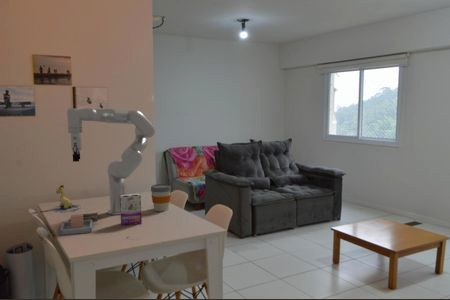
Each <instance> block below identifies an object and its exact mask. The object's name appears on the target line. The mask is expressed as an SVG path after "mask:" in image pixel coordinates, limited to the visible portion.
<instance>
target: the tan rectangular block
mask: <svg viewBox="0 0 450 300" xmlns="http://www.w3.org/2000/svg"><path fill="white" fill-rule="evenodd" d="M83 214H84V213H80V215H78V214H70V218H69V219H70V222H71V229H76V228H84V224H83Z"/></svg>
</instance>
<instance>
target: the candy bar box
mask: <svg viewBox="0 0 450 300" xmlns="http://www.w3.org/2000/svg"><path fill="white" fill-rule="evenodd" d="M141 196H142V195H141V193H139V192H138V193H126V194H122V195H120V211H121V214H120V225H121V226H128V225H140V224H142V223H143V222H142V221H143V220H142V201H141V198H142V197H141Z"/></svg>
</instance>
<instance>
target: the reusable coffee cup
mask: <svg viewBox="0 0 450 300" xmlns="http://www.w3.org/2000/svg"><path fill="white" fill-rule="evenodd" d="M150 191H151V201H152V203H153V210H154V211H156V212H165V211H168V210H169V208H170V202H171V192H172V187H171V184H166V183H159V184H153V185H150Z"/></svg>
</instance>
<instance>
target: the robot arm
mask: <svg viewBox="0 0 450 300" xmlns="http://www.w3.org/2000/svg"><path fill="white" fill-rule="evenodd" d="M66 113H67V118H66V119H67V133H68V134H70V146H71V151H72V162H75V163H76V162H80V160H81V152H80V151H81V150H82V146H83V145H82V135H81V134H82V133H83V122H101V123H107V124H121V125H134V126H135V128H134V134H135V137H134V141H133V142H132V143H131V144H130V145H129V146H128V147H127V148H125V150H124V151H123V152H122V153H121V156H120V158H121V161H119V160H114V161H111V162H110V163H109V164H108V166H107V176H108V182H109V184H108V185H109V205H110V206H109V209H108V210H107V214H108V215H112V216H113V215H114V216H115V215H116V216H118V215H121V211H120V195H122V194H127V193H126V192H127V190H126V187H127V186H126V179H127V178H128V177H129V176H131V174H133V172H134V171H135V170H136V169H137V168H138V167H139V166H140V165H141V163H142V162H143V157H144V156H143V153H144V151H145V149H146V148H147V146H148V142H149V140H148V139H150V138H152V137H153V136H154V135H155V133H156V129H155V127H154V125H153V124H152V123H151V121H150V120H148V118H147V117H146V116H145V115H144V114H143V113H142V112H141V111H140V110H137V109H136V110H135V109H134V110H133V109H132V110H131V109H130V110H129V109H119V108H117V109H116V108H104V109H103V108H101V109H100V108H92V107H83V108H78V107H76V108H68V109H67V111H66Z"/></svg>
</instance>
